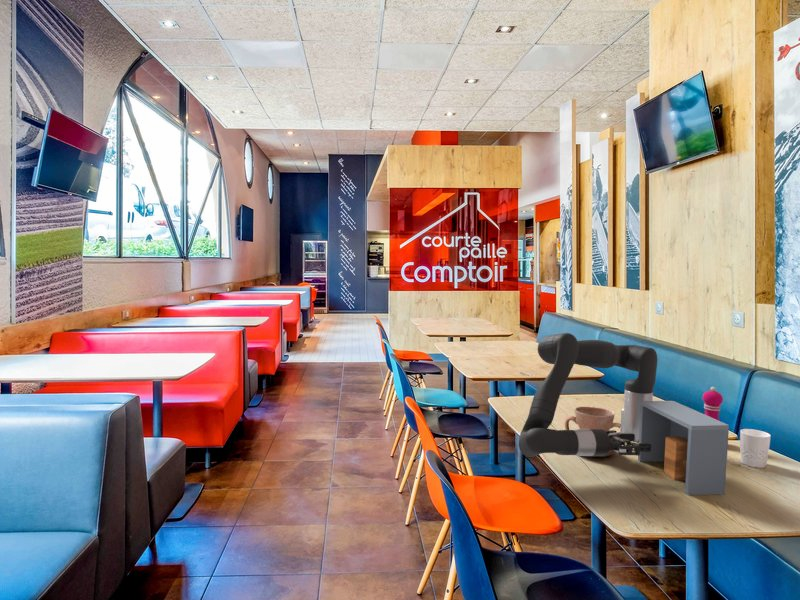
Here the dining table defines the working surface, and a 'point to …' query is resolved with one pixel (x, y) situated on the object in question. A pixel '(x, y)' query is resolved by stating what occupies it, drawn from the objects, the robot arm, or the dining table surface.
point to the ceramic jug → (593, 420)
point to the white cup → (754, 447)
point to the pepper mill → (712, 403)
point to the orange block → (675, 457)
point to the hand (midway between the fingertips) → (642, 442)
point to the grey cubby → (702, 438)
